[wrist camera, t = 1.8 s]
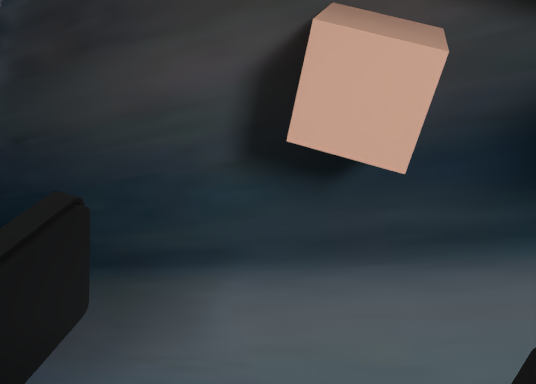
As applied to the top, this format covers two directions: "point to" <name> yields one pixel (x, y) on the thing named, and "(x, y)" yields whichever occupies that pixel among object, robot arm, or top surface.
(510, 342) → the top surface
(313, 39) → the terracotta cube
